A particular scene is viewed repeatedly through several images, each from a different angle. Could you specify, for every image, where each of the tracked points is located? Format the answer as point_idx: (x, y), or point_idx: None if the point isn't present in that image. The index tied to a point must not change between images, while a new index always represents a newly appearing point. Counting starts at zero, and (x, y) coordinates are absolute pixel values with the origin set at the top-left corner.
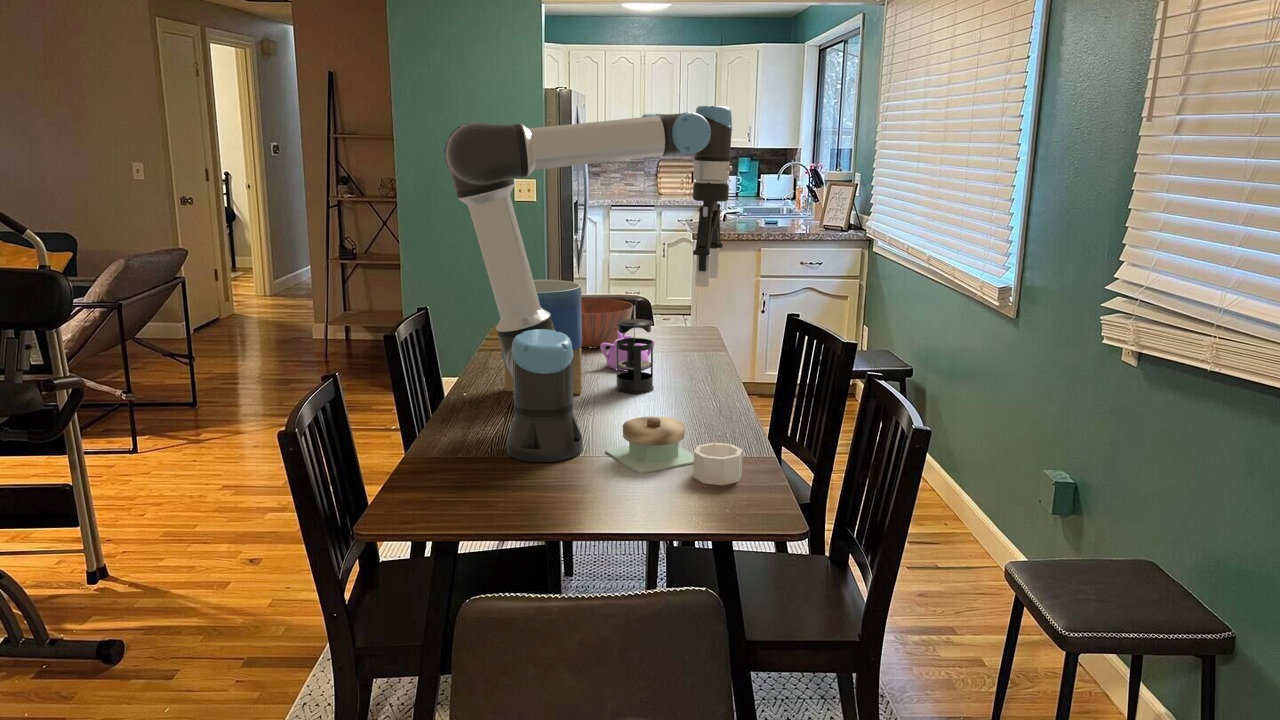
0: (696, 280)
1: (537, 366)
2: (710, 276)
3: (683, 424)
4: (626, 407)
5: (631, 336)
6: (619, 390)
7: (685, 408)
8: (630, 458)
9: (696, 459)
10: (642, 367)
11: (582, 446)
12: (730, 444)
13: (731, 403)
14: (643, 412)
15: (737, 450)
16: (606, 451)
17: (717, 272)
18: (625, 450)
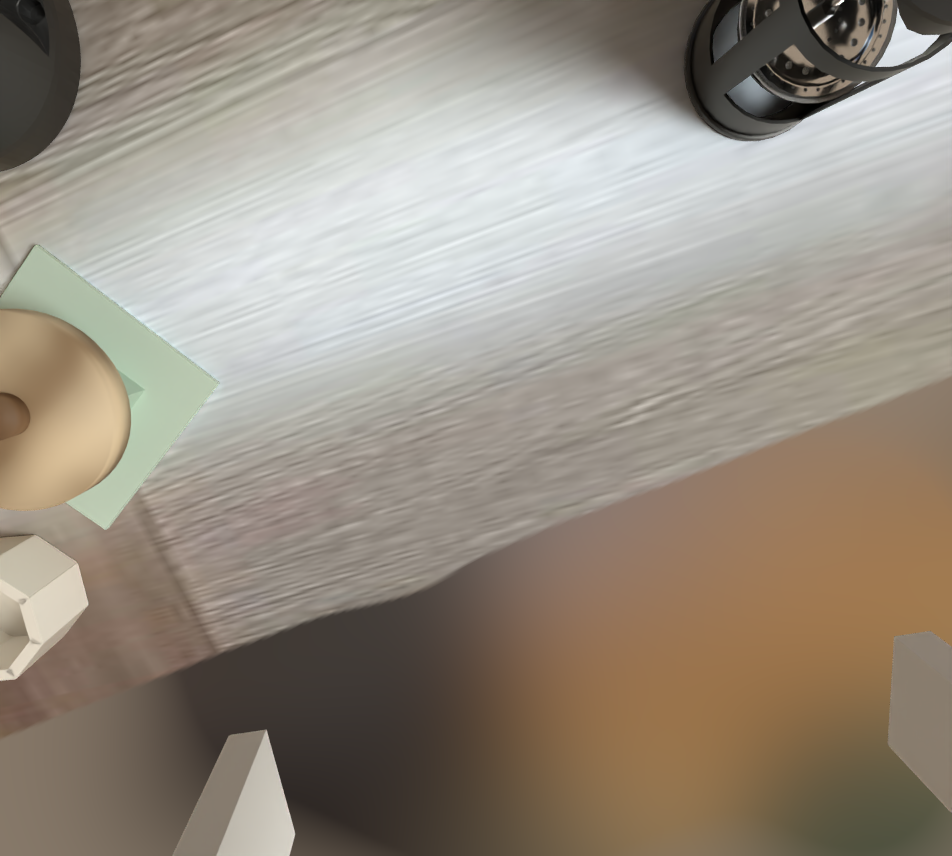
0: (207, 793)
1: None
2: (901, 694)
3: (69, 497)
4: (510, 125)
5: None
6: (701, 12)
7: (565, 332)
8: None
9: None
10: (766, 77)
11: (4, 165)
12: (40, 641)
13: (664, 454)
14: (473, 209)
15: (10, 666)
16: (33, 250)
17: (936, 794)
18: (65, 304)
